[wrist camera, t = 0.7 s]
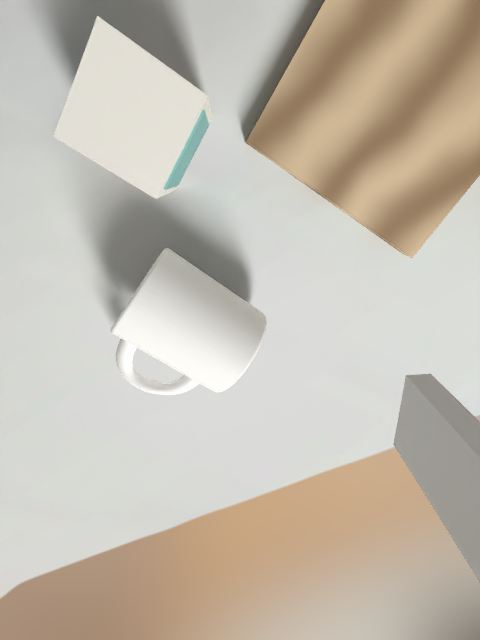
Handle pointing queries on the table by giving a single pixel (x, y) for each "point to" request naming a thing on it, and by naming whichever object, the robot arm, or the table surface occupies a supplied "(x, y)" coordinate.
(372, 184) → the shelf board
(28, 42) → the table surface
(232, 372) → the mug
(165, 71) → the carton
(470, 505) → the robot arm
